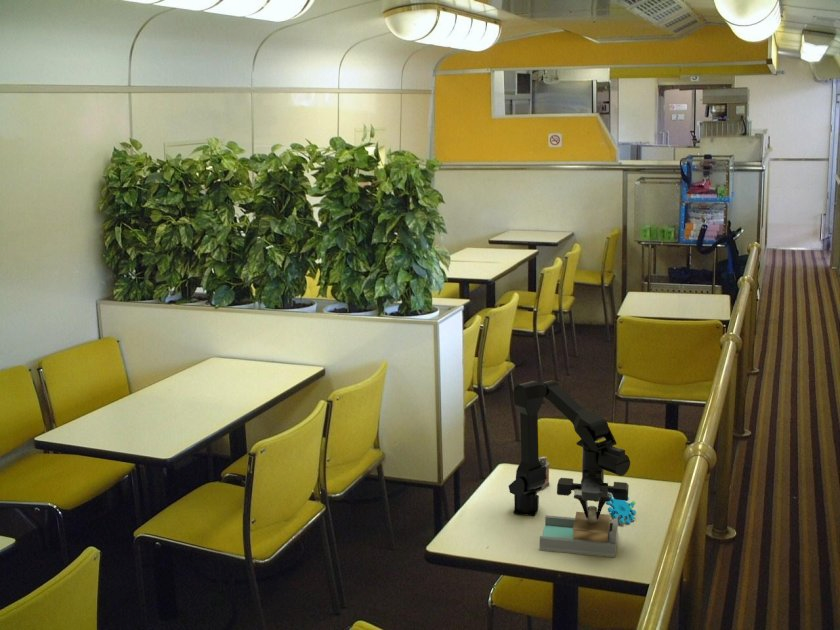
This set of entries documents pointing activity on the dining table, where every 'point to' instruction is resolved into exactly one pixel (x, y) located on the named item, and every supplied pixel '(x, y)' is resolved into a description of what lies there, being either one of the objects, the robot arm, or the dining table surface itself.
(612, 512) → the gear
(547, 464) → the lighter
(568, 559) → the dining table surface
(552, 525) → the bay
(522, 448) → the robot arm
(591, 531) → the crate
